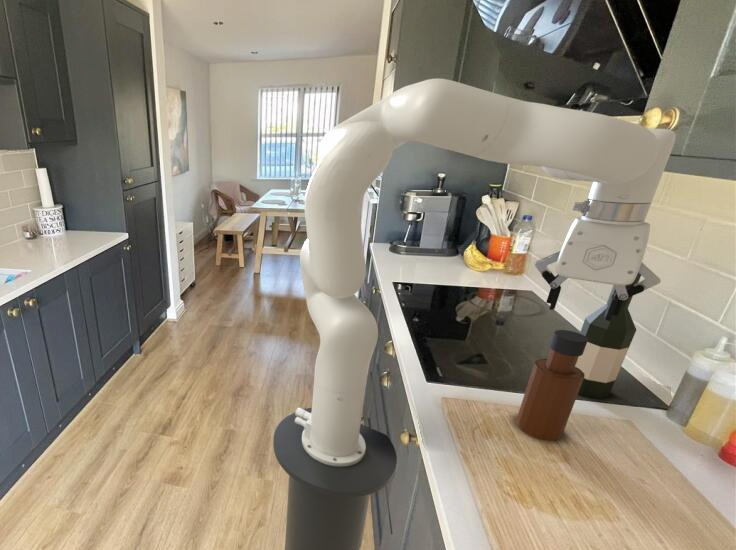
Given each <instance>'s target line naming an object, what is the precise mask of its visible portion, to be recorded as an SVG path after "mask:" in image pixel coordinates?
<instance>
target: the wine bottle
mask: <svg viewBox="0 0 736 550" xmlns="http://www.w3.org/2000/svg"><path fill="white" fill-rule="evenodd" d="M641 277H642V275H641V274H640V273H638V274H637V276H636V278H635V280H634V282H633V283H632V284H629V285H625V286H626V287H629V286H631V285H634V284H636V283H639V282H640V280H641ZM615 292H616V289H615V286H614V285H612V288H611V291H610V293H609V296H608V299H607V300H606V304H604V305H603V306H601V307H600V308H598V309H597V310H595V311H594V312H592V313H591V314H589V315H588V316H586V317H585V318H584V321H583V323H582V326H581V329H580V331H579V334H582V335H584V336H586V337H587V338H588V341H587V344H586V347H585V349H584V352H583V355H581V356H579V357H578V360H577V363H576V365H575V367H577V368H579V369H580V370H581V371H582V372H583V373H584V379H583V382H582V385H581V387H580V390H579V392H578V395H580V396H583V397H589V398H594V399H602V398H606V397H609V396H610V393H611V392H612V389H613V386H614V384H615V382H616V380H617V377H618V375H619V373H620V370H621V368H622V365H623V363H624V361H625V358H626V356H627V353H628V351H629V349H630V346H631V344H632V342H633V339H634V337H635V334H636V332H637V328H636V325H635V323H634V320H633V318H632V315H631V313H630V311H629V306H630V304H631V301H632V299H633V296H634V295H633V296H631V297H628V298H627V299H626V300H624V301H623V304H622V306H621V309H620V311H619V314H618V316H614V315H613V316H612V318H611V321H607V320H606V319H605V312H606V309H607V306H608V304H609V301H610V299H611V296H612V295H614V294H615Z"/></svg>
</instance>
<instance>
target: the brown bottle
mask: <svg viewBox="0 0 736 550" xmlns="http://www.w3.org/2000/svg"><path fill="white" fill-rule="evenodd" d="M549 351H550V352H549V353H548V357H547V358H539V359H535V361H534V364H533V366H532V370H531V373H530V376H529V379H528V382H527V385H526V388H525V391H524V394H523V398H522V401H521V405H520V406H519V410H518V413H517V416H516V420H515V423H516V425H517V427H518V428H519V429H520V430H522V431H523V432H524V433H526V434H528V435H529V436H531V437H534V438H536V439H540V440H544V441H558V440H559V439H561V438H562V436H563V434H564V431H565V429H566V426H567V423H568V421H569V418H570V416H571V413H572V412H573V411H572V410H573V409H574V405H575V403H576V401H577V398H578V395H579V394H578V392H579V390H580V387H581V385H582V382H583V379H584V373H583V372H582V371H581V370H580V369H579V368H577V367H575V365H576V363H577V360H578V357H579V356H568V355H564V354H560V353H558V352H556V351H554V350H552V349H551V348H550V350H549Z"/></svg>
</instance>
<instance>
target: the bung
mask: <svg viewBox="0 0 736 550" xmlns="http://www.w3.org/2000/svg"><path fill="white" fill-rule="evenodd" d="M587 341H588V338H587V337H586V336H584V335H582V334H580V332H576V331H573V330H566V329H558V330H557V329H556V330H555V331H554V332H553V335H552V338H551V341H550V344H549V348H550V350H551V349H552V350H554V351H556V352H558V353H560V354H564V355H568V356H581V355H583V352H584V349H585V347H586V344H587Z"/></svg>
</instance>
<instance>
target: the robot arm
mask: <svg viewBox="0 0 736 550" xmlns="http://www.w3.org/2000/svg"><path fill="white" fill-rule="evenodd" d="M676 137H677V135H676V133H675V132H674V131H673V130H672V129H669V128H647V127H645V126H643V125H641V124H637V123H634V122H631V121H627V120H624V119H622V118H618V117H613V116H610V115H606V114H601V113H597V112H592V111H587V110H580V109H573V108H566V107H560V106H555V105H551V104H546V103H540V102H533V101H526V100H522V99H518V98H513V97H509V96H507V95H504V94H503V95H502V94H500V93H496V92H493V91H489V90H485V89H481V88H478V87H476V86H472V85H469V84H465V83H463V82H458V81H455V80H452V79H447V78H437V77H436V78H428V79H424V80H422V81H418V82H415V83H412V84H409V85H405V86H403V87H401V88H399V89H397V90H395V91H393V92H392V93H390V94H388V95H386V96H385V97H384V98H382V99H380V100H379V101H376V102H375V103H373V104H372V105H370V106H368V107H367V108H364V109H363V110H361V111H359V112H358V113H356V114H354V115H352V116H351V117H348V118H347V119H345V120H343V121H342V122H340V123H339V124H336V125H335V126H334V127H332V128H331V129H330V130H329V131H328V132H327V133H326V134H325V135H324V136H323V138H322V140H321V141H320V144H319V147H318V154H317V155H318V161H319V162H318V164H317V166H316V167H315V169H314V171H313V173H312V175H311V177H310V179H309V181H308V185H307V188H306V191H305V197H304V218H305V228H306V238H307V239H306V240H305V241H304V243H303V245H302V247H301V249H300V253H299V267H300V273H301V279H302V285H303V291H304V296H305V302H306V307H307V310H308V314H309V316H310V319H311V321H312V322H313V324H314V326H315V328H316V330H317V332H318V335H319V340H320V341H319V342H320V343H319V348H318V352H317V355H316V359H315V365H314V374H313V375H314V376H313V377H314V378H313V389H312V403H311V408H312V412H311V413H309V412H307V411H306V410H303V409H304V408H301V407H297V408H296V410H295V411H294V412H295V415H296V416H297V417H296V418H295V423H297V424H299V425H302V426H304V431H303V433H302V445H303V447H304V449H305V450H306V452H307V453H308V454H309V455H310V456H311V457H313V458H314V459H315V460H317V461H319V462H321V463H324V464H326V465H330V466H337V467H345V466H350V465H354V464H356V463H358V462H359V461H361V459H362V458H363V457H364V455H365V450H366V443H365V440H364V438H363V437H362V435H361V434H360V426H361V424H362V421H361V419H362V417H363V411H364V406H365V405H364V403H365V397H366V389H367V382H368V375H369V370H370V365H371V362H372V361H371V360H372V357H373V354H374V352H375V349H376V346H377V343H378V340H379V339H378V338H379V327H378V323H377V320H376V318H375V316H374V314H373V313H372V311H371V310H370V309H369V307H367V306H366V305H365V303H364V302H363V301H362V300H361V299H360V298H358V297H357V295H356V293H358V292H359V290H361V288H362V286H363V285H364V283H365V280H366V276H367V275H366V274H367V266H366V259H365V258H366V257H365V251H364V242H363V235H362V234H363V233H362V221H361V220H362V217H361V206H362V202H363V199H364V197H365V194H366V192H367V191H368V189H369V188H370V187H371V185H372V184H373V183H374V181H376V180H377V178H379V176H381V175H382V174H383V173H384V171H385V170H386V169H387V167H388V166H389V164H390V162H391V160H392V157H393V153H394V151H395V150H396V149H398V148H399V147H401V146H403V145H405V144H406V143H421V144H425V145H429V146H433V147H436V148H441V149H444V150H448V151H451V152H454V153H455V152H456V153H460V154H464V155H465V156H470V157H473V158H477V159H481V160H483V161H484V160H485V161H489V162H495V163H500V164H507V165H518V166H519V165H520V166H533V167H541V169H542V170H543V172H544V173H546V174H547V175H549V176H550V177H553V178H557V179H560V180H567V181H578V182H582V181H583V182H589V183H590V182H591V183H592V184H591V187H590V190H589V194H588V196H587V199H586V200H584V201H580V202H578V201H577V202H574V205H573V208H572V211H578V212H579V213H580V214H582V215H581V216H578V217H575V219H574V220H573V222H572V224H571V226H570V227H569V230H568V232H567V233H566V236H565V239H564V241H563V244H562V246H561V249H560V251H557V252H554V253H552V254H550V255H547V256H545V257H543V258H541V259H538V260H536V262H535V264H534V266H535V268H536V269H537V271H538V272H539V273H540V275H541V277H542V278H543V280H545V282H546V283H547V284H548V285H549V288H550V289H549V292H548V296H547V299H546V301H545V304H550V305H549V308H548V309H549V310H551V311H553V310H555V309H556V306H557V303H558V299H559V297H560V293H561V291H562V286H561V285H562V284H563V283H564V282H566V280H567V279H573V280H579V281H585V282H591V283H599V284H606V285H612V286H613V285H614V286H615V289H616V292H615V294H614V295H612V296H611V299H610V301H609V304H608V306H607V309H606V312H605V319H606V320H607V321H611V318H612V316H613V315H614V316H618V314H619V311H620V309H621V306H622V304H623V301H624V300H626V299H627V298H628V297H631V296H636V295H638V294H641V293H643V292H644V291H646V290H649V289H650V288H653V287H655V286H657V285H659V284H660V283H661V282H662V281H661V278H660V277H659V276H658V275H657V274H656V273H655V272H654V271H653V270H652V269H651V268H650V267H648V266H647V265H646V264H645V262H643V259H644V256H645V253H646V249H647V246H648V241H649V238H650V232H651V224H650V223H648V222H646V221H645V220H646V219H647V217H648V216H647V215H648V213H649V210H650V208H651V207H652V206H651V205H652V202H653V200H654V198H655V195H656V192H657V189H658V186H659V185H660V182H661V179H662V176H663V174H664V171H665V169H666V166H667V163H668V161H669V158H670V156H671V154H672V151H673V148H674V145H675V143H676ZM553 263H555V273H556V275H554V273H553V272H552V271H551V269H550V268H549V267H548V266H549V265H551V264H553ZM638 273H640V274H641V277H643V278H644V279H643V280H641V281H639V282H638V283H636V284H634V285H631V286H629V287H626V286H625V285H629V284H632V283H633V282H634V280H635V278H636V276H637V274H638ZM301 418H302V419H301ZM303 419H305V420H307V421H305V420H303Z"/></svg>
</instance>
